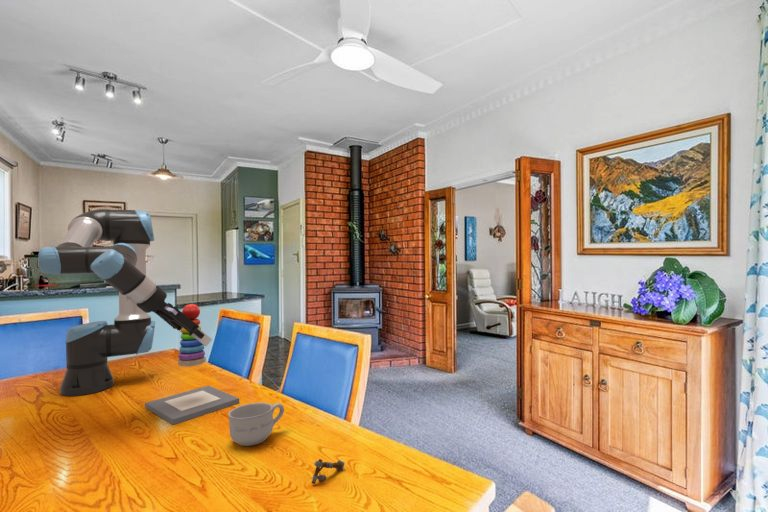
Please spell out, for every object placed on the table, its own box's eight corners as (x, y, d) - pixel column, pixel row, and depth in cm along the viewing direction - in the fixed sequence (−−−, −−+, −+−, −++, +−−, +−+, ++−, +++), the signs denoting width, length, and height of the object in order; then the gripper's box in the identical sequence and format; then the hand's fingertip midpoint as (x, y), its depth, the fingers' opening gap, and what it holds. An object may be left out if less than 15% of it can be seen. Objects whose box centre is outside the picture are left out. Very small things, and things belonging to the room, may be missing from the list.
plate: (145, 407, 120) (145, 402, 120) (208, 389, 135) (208, 384, 135) (172, 424, 107) (172, 418, 107) (239, 403, 123) (239, 397, 123)
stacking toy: (211, 360, 124) (210, 302, 124) (196, 367, 116) (196, 305, 117) (187, 360, 125) (187, 302, 125) (172, 367, 117) (171, 305, 117)
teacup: (231, 455, 90) (230, 421, 90) (226, 436, 100) (226, 405, 100) (290, 441, 97) (290, 409, 97) (280, 424, 106) (280, 395, 106)
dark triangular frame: (306, 481, 78) (313, 457, 79) (333, 481, 84) (339, 458, 85) (312, 485, 77) (319, 460, 78) (339, 484, 82) (345, 461, 84)
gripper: (124, 302, 115) (181, 347, 128) (149, 307, 103) (210, 356, 116) (143, 283, 119) (197, 328, 132) (170, 286, 107) (226, 335, 120)
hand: (203, 341), depth 124 cm, fingers closed on stacking toy, 6 cm apart
